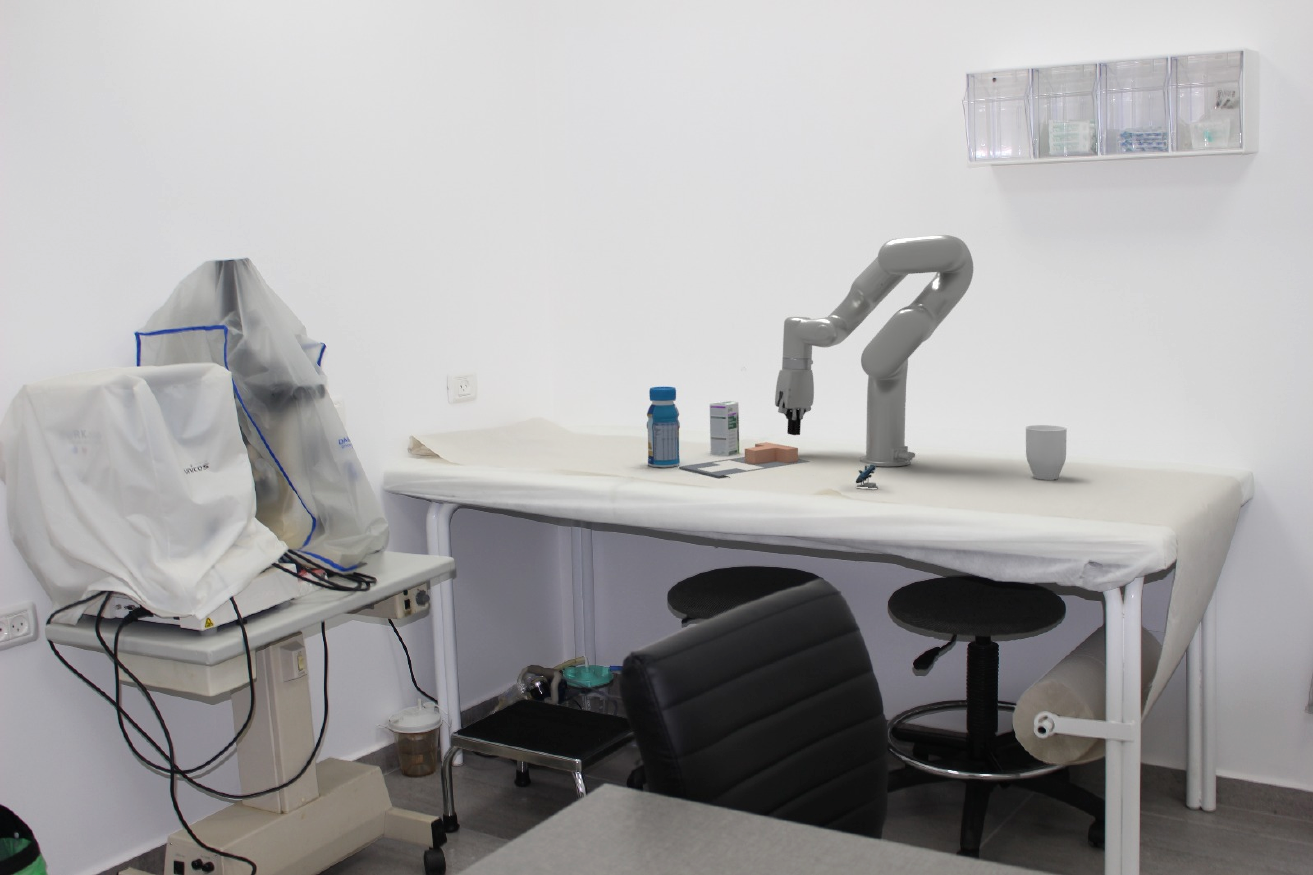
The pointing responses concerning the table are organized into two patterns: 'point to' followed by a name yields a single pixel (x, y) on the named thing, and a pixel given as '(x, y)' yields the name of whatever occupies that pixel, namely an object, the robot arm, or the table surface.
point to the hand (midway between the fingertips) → (793, 434)
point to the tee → (771, 453)
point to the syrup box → (724, 428)
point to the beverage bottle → (663, 428)
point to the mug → (1046, 450)
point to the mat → (732, 471)
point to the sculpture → (865, 475)
